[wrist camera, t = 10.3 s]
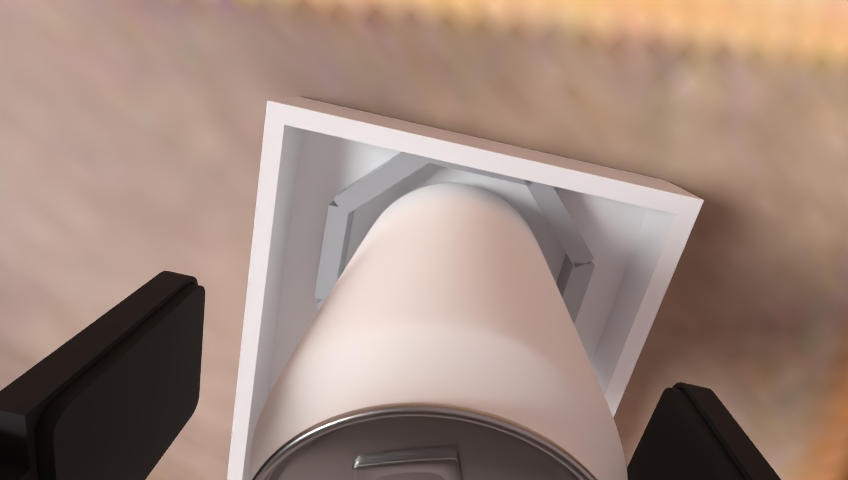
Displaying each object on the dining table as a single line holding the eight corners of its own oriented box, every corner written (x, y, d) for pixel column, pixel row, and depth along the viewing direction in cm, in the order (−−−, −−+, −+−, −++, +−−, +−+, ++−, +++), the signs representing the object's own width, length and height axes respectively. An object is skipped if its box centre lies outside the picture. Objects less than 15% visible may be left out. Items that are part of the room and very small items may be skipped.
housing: (298, 96, 18) (267, 100, 15) (665, 180, 18) (703, 200, 15) (242, 540, 25) (214, 600, 22) (503, 600, 25) (509, 668, 22)
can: (382, 351, 20) (270, 729, 8) (347, 194, 18) (137, 405, 6) (547, 332, 19) (673, 723, 7) (529, 166, 17) (661, 349, 6)
